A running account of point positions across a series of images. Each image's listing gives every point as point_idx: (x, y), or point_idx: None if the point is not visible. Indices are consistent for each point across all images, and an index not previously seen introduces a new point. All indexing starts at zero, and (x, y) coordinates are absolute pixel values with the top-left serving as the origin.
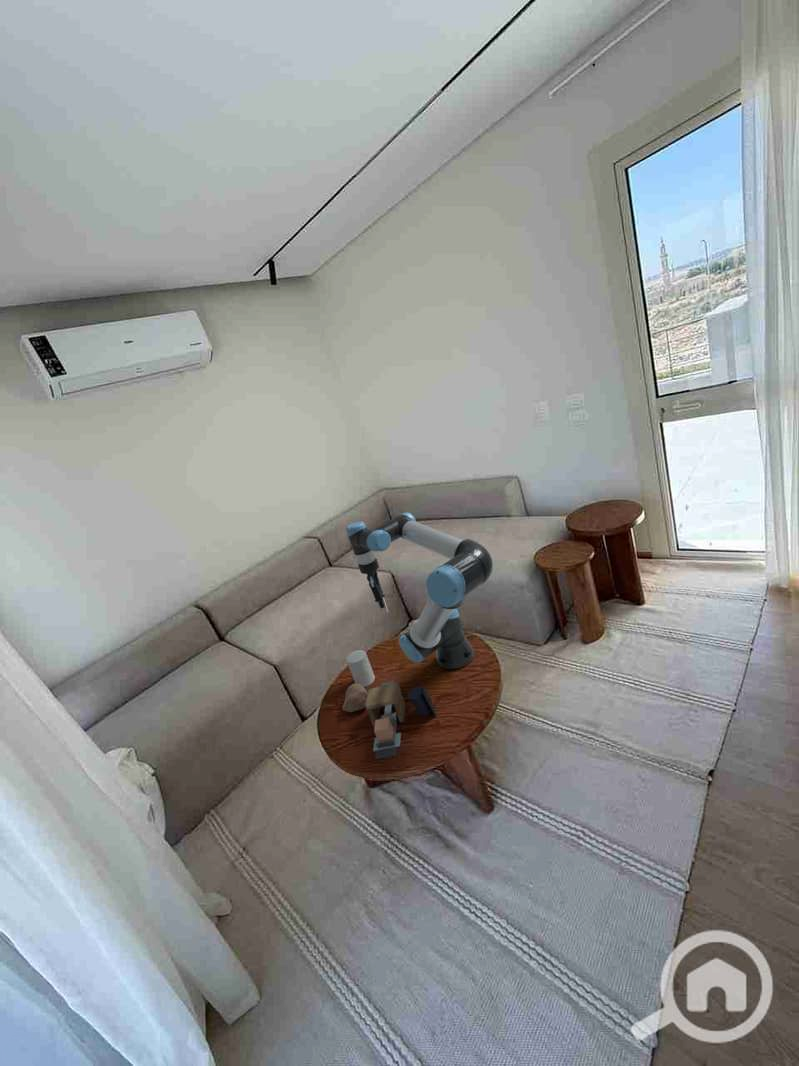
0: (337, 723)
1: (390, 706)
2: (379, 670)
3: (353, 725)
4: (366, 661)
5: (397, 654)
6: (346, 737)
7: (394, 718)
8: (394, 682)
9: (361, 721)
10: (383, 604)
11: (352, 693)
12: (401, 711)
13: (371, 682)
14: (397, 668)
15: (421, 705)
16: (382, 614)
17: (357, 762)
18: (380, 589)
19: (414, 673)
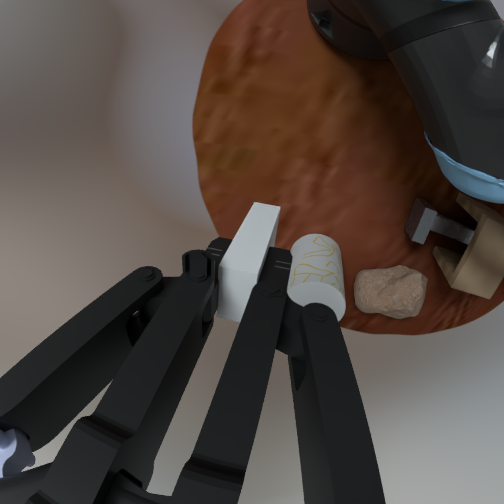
0: (408, 320)
1: (465, 230)
2: (296, 217)
3: (436, 297)
4: (333, 275)
5: (248, 156)
6: (450, 309)
7: None
8: (427, 206)
9: (438, 283)
10: (276, 261)
11: (413, 312)
12: (501, 217)
13: (338, 246)
14: (318, 169)
15: None
16: (273, 245)
17: (501, 297)
18: (175, 338)
19: (372, 132)
